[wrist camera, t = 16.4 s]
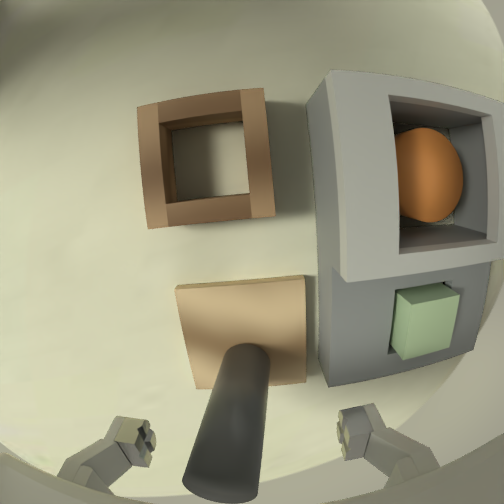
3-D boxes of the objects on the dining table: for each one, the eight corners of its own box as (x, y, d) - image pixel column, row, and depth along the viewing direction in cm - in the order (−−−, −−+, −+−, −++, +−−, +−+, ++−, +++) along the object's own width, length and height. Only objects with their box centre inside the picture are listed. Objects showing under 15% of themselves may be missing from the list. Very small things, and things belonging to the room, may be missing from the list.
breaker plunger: (365, 132, 15) (386, 124, 12) (432, 137, 15) (459, 132, 12) (371, 217, 16) (392, 224, 14) (436, 214, 16) (463, 220, 13)
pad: (177, 285, 18) (174, 289, 17) (302, 275, 18) (305, 279, 17) (198, 382, 20) (196, 389, 19) (304, 375, 20) (306, 382, 19)
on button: (389, 285, 16) (411, 304, 13) (434, 278, 16) (459, 294, 13) (384, 336, 17) (402, 360, 14) (427, 326, 17) (449, 347, 14)
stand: (151, 116, 16) (136, 107, 13) (261, 100, 15) (263, 87, 13) (161, 222, 17) (147, 229, 15) (272, 211, 17) (275, 216, 15)
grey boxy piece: (305, 104, 16) (330, 69, 10) (458, 117, 15) (512, 106, 9) (318, 358, 19) (337, 415, 14) (451, 330, 19) (491, 366, 13)
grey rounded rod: (220, 343, 18) (174, 466, 9) (269, 343, 18) (255, 475, 8) (225, 380, 19) (191, 498, 9) (271, 381, 19) (259, 505, 9)
